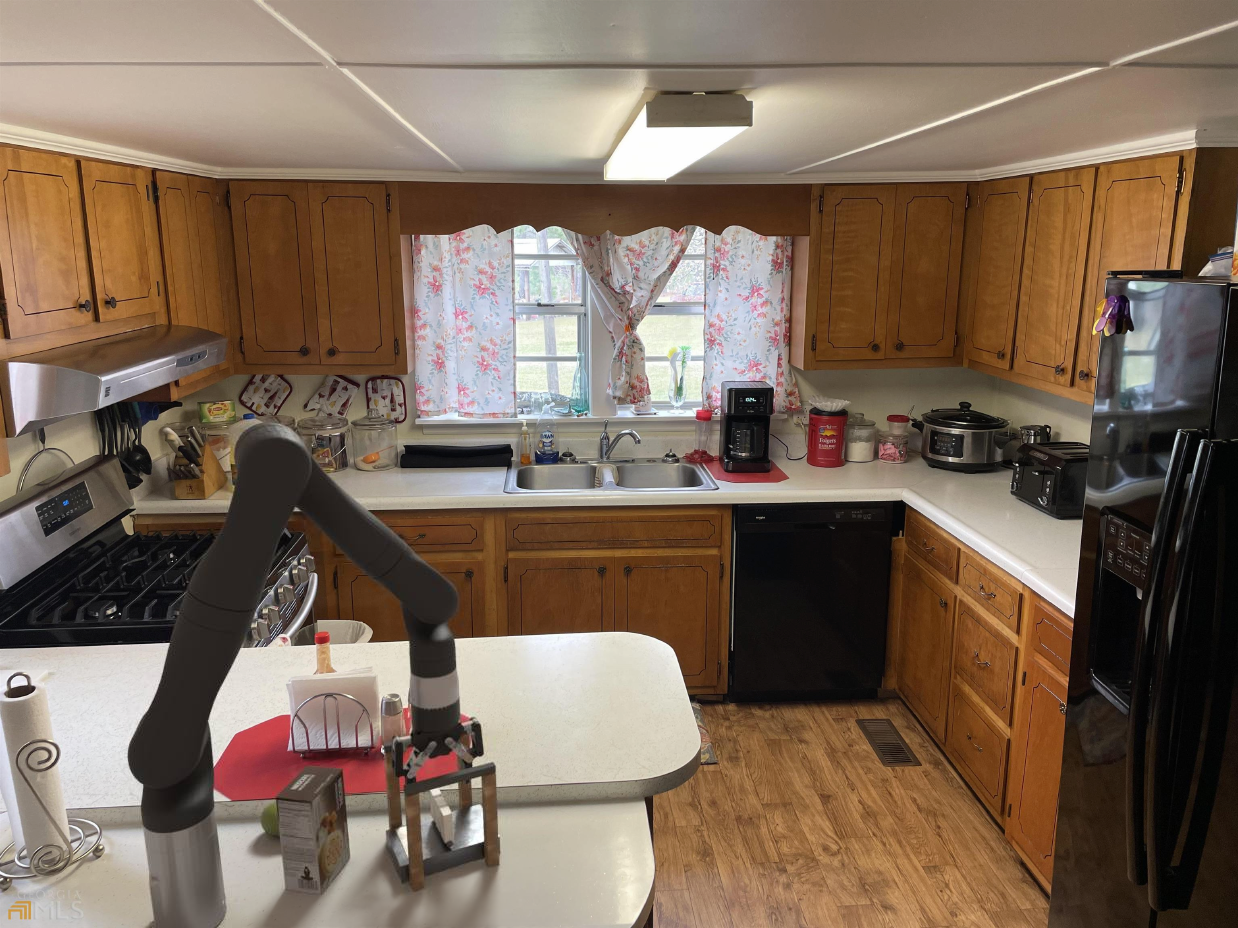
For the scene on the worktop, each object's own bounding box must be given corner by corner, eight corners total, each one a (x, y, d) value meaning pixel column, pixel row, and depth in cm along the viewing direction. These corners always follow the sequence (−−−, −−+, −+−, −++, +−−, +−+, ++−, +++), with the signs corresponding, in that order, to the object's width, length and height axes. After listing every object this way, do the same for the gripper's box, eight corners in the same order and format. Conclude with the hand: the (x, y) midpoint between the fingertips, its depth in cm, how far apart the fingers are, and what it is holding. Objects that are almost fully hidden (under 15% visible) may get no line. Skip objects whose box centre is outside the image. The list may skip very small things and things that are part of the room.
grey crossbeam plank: (405, 796, 133) (405, 789, 133) (403, 792, 134) (403, 784, 134) (495, 772, 139) (495, 765, 139) (493, 768, 140) (493, 761, 140)
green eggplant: (278, 789, 153) (326, 810, 150) (276, 816, 155) (323, 837, 151) (254, 807, 148) (303, 829, 145) (252, 834, 149) (301, 857, 146)
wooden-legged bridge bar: (385, 753, 145) (384, 746, 144) (383, 749, 146) (383, 742, 146) (469, 732, 151) (468, 726, 151) (467, 729, 152) (466, 723, 152)
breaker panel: (401, 883, 138) (400, 865, 137) (386, 846, 147) (385, 829, 146) (500, 852, 145) (499, 835, 144) (480, 819, 154) (480, 803, 153)
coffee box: (315, 852, 145) (307, 762, 142) (351, 857, 144) (344, 767, 141) (283, 890, 137) (274, 795, 133) (322, 896, 135) (313, 800, 132)
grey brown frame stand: (412, 891, 136) (407, 797, 133) (389, 835, 150) (383, 748, 146) (499, 864, 142) (495, 773, 139) (469, 812, 156) (465, 728, 152)
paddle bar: (445, 848, 141) (444, 816, 140) (430, 817, 149) (428, 787, 148) (454, 846, 142) (453, 814, 140) (438, 815, 149) (437, 785, 148)
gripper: (394, 715, 134) (401, 812, 137) (486, 695, 140) (490, 788, 143) (383, 694, 140) (389, 788, 144) (471, 675, 146) (475, 765, 150)
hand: (440, 788), depth 144 cm, fingers open, 8 cm apart
